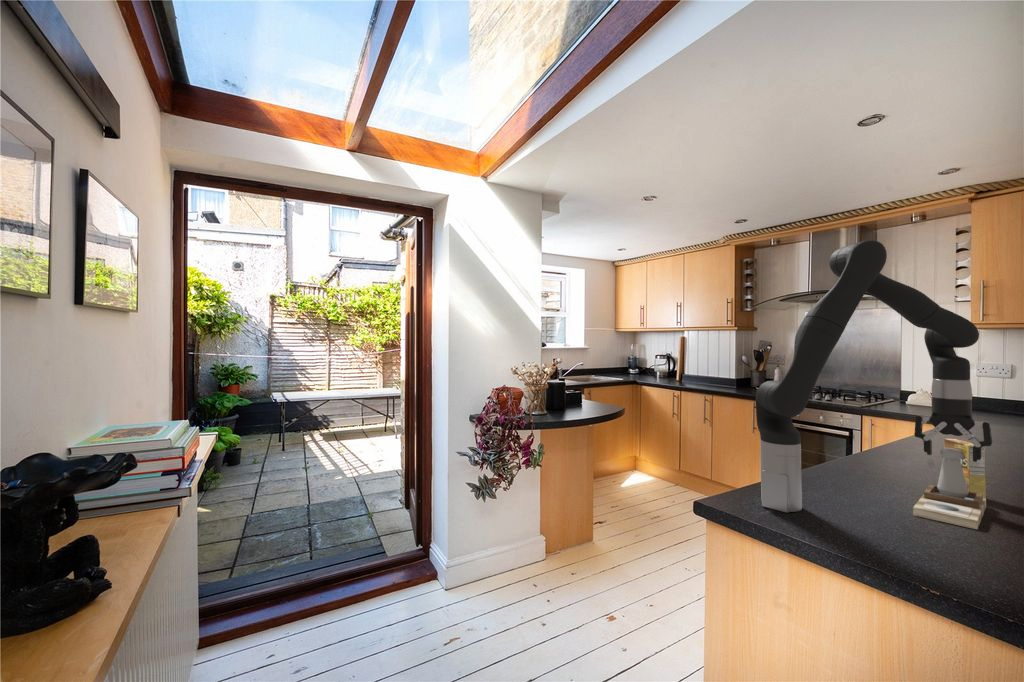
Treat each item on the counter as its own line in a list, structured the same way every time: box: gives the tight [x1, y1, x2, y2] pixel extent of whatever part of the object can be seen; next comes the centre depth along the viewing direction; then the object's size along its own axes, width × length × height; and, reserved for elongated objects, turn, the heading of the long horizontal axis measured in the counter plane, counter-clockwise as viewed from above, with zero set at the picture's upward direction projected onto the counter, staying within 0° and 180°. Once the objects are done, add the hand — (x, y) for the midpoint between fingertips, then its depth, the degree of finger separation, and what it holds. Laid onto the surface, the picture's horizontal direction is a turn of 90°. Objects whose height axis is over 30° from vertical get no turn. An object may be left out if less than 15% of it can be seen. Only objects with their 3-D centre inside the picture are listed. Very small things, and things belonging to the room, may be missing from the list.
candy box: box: [943, 438, 987, 500], centre depth 122 cm, size 9×4×15 cm, turn 169°
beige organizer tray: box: [912, 484, 987, 530], centre depth 111 cm, size 22×11×4 cm, turn 129°
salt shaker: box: [936, 447, 969, 499], centre depth 114 cm, size 6×6×13 cm
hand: (951, 457), depth 114 cm, fingers open, 8 cm apart
